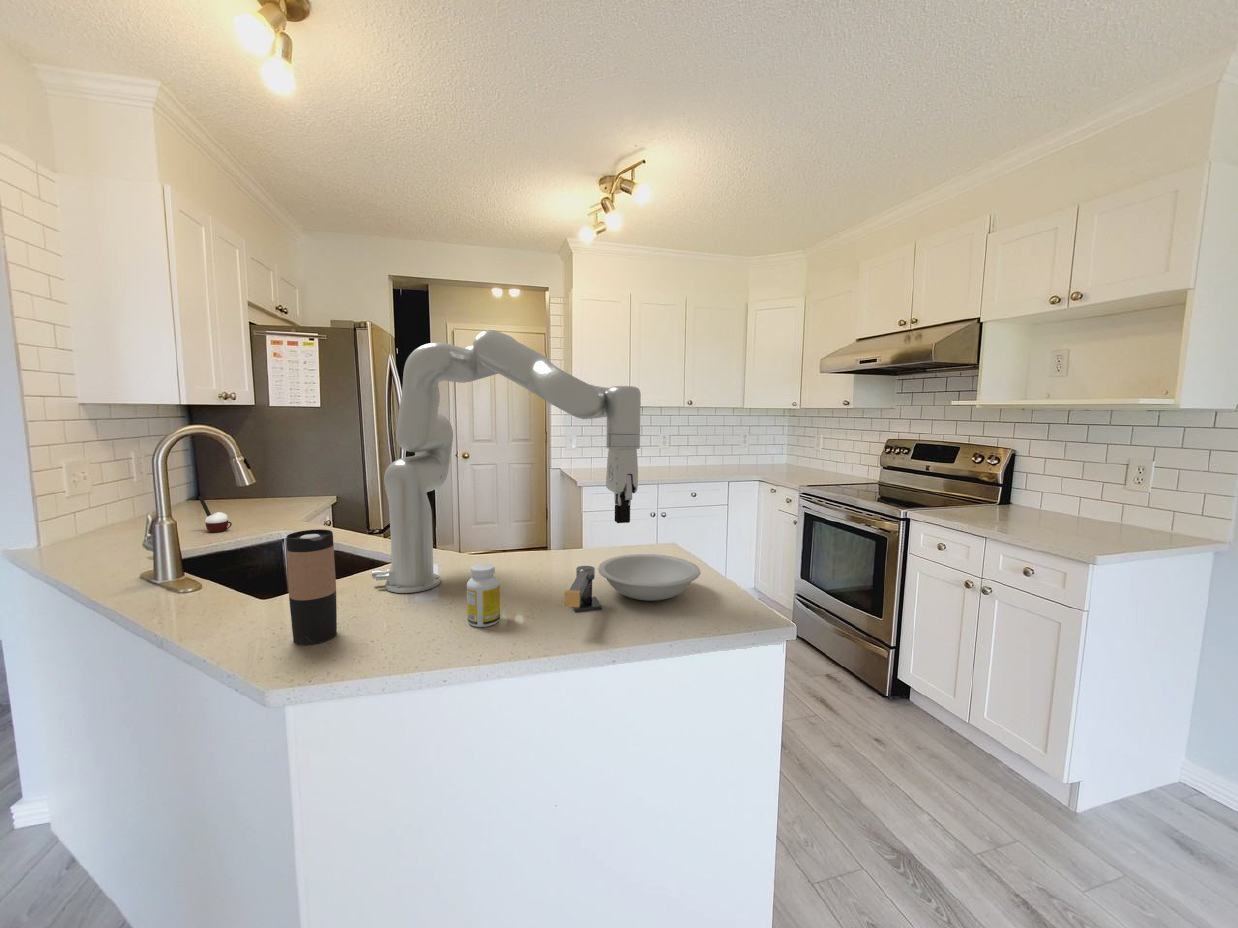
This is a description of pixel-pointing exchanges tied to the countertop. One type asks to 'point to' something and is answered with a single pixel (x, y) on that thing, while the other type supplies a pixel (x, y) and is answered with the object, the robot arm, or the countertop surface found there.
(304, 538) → the travel mug
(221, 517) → the cocoa
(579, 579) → the rail
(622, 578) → the round sink basin
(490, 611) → the pill bottle
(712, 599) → the countertop surface
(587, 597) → the dark grey faucet base
